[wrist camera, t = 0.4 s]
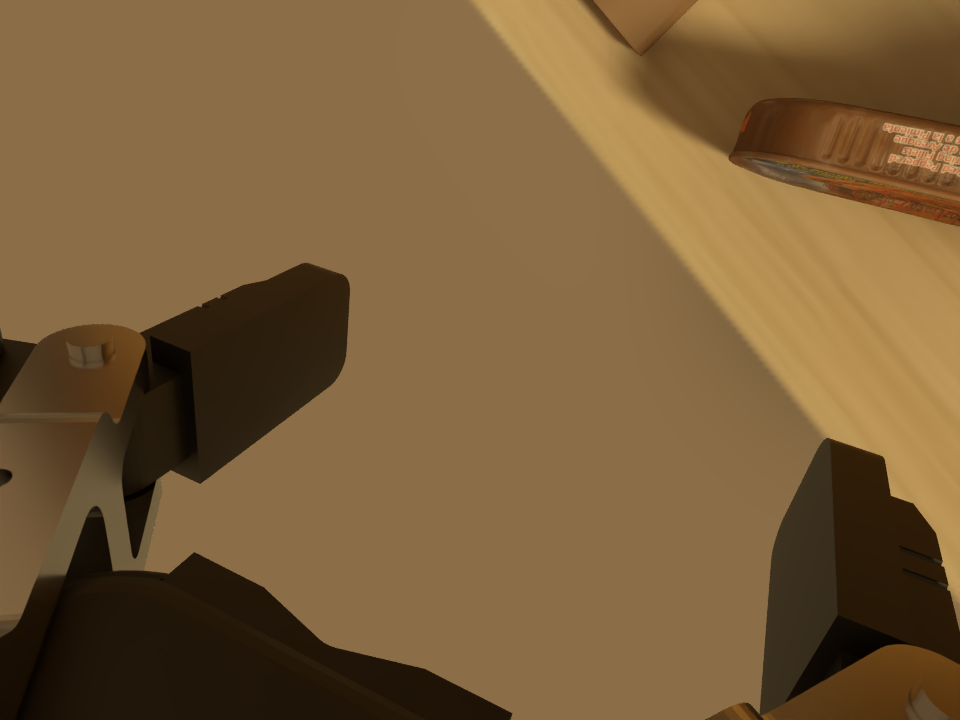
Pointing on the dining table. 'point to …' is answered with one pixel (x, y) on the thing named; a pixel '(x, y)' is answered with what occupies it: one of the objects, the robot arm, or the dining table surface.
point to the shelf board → (643, 18)
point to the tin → (855, 154)
